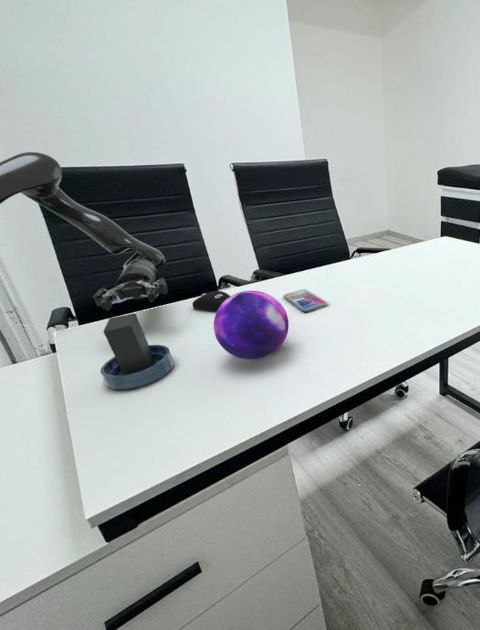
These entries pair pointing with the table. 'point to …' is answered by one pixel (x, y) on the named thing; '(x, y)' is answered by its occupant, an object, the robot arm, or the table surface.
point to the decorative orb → (251, 325)
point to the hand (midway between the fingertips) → (128, 302)
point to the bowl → (120, 381)
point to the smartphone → (305, 300)
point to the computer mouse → (210, 301)
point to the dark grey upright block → (129, 343)
